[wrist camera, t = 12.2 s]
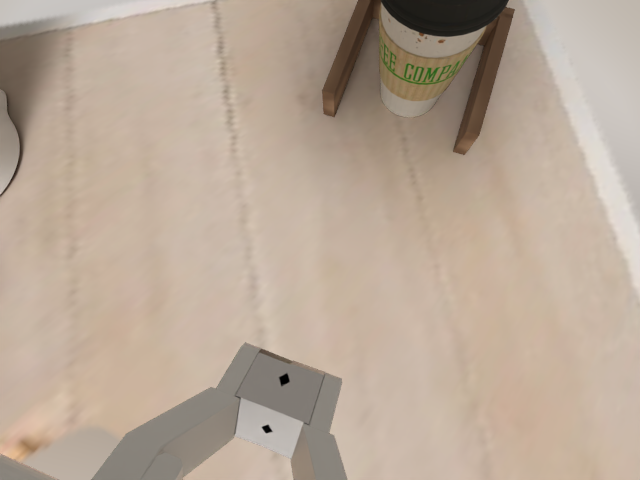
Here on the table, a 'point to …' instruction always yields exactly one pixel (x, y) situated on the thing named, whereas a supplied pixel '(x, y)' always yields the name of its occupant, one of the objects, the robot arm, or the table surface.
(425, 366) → the table surface
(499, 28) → the walnut caddy
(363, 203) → the table surface
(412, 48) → the coffee cup
